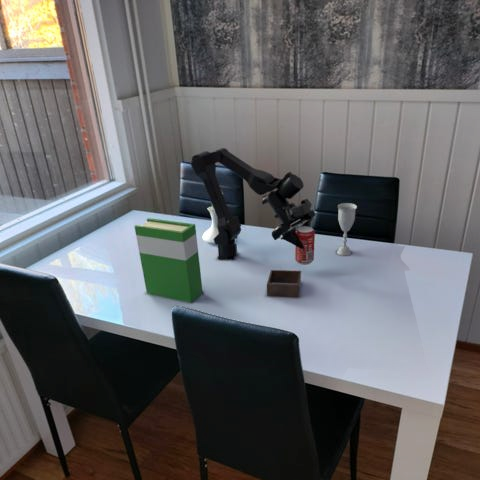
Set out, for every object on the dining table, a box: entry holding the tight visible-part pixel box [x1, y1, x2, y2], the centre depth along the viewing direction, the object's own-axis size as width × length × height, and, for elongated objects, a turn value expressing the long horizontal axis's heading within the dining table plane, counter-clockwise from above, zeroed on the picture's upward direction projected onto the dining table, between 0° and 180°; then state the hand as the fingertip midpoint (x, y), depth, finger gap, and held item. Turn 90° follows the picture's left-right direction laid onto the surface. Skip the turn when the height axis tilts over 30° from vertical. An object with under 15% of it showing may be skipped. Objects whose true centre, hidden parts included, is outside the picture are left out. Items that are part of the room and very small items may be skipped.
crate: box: [266, 269, 302, 298], centre depth 154 cm, size 10×10×4 cm
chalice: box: [337, 202, 358, 256], centre depth 172 cm, size 7×7×18 cm
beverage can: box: [294, 226, 316, 266], centre depth 158 cm, size 6×6×12 cm
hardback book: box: [134, 217, 204, 304], centre depth 151 cm, size 18×7×24 cm, turn 64°
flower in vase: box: [201, 189, 224, 244], centre depth 188 cm, size 13×11×25 cm
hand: (308, 245), depth 157 cm, fingers closed on beverage can, 6 cm apart
